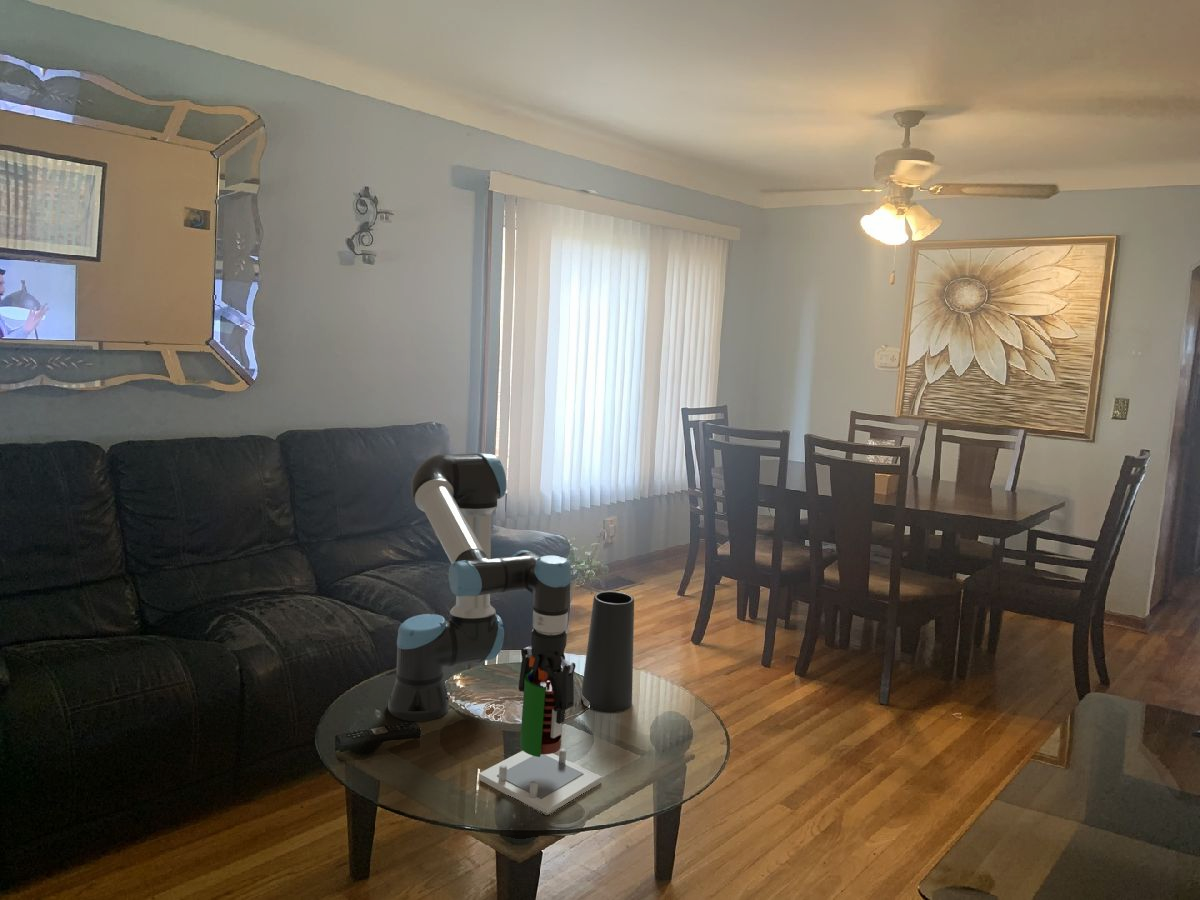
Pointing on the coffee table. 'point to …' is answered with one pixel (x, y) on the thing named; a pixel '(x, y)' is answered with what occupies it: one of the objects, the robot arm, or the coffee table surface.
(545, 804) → the mounting board
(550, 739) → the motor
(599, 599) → the vase
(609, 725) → the coffee table surface
